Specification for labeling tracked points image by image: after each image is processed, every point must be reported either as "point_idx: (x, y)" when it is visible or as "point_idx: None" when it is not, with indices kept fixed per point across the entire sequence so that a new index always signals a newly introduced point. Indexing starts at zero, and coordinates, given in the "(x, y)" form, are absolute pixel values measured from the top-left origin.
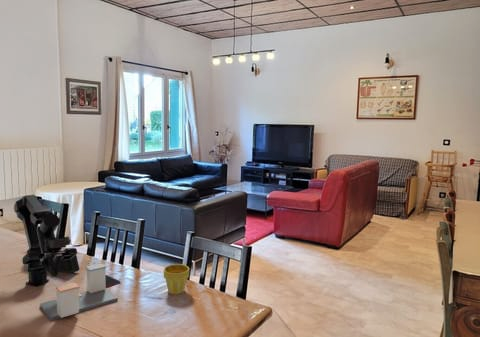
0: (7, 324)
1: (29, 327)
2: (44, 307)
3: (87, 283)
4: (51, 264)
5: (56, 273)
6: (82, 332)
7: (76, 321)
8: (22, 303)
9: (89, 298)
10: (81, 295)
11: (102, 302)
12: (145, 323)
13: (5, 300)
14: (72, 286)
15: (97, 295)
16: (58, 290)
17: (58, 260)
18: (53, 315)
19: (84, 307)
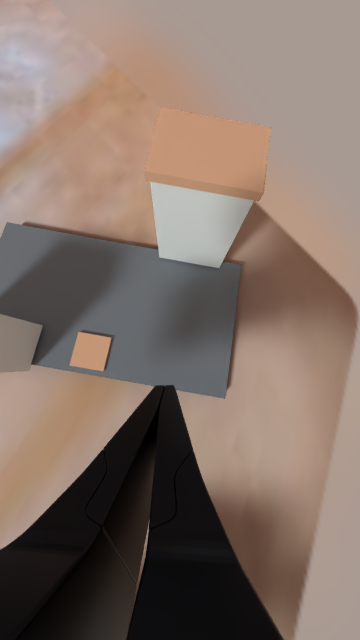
0: (344, 349)
1: (299, 280)
2: (227, 350)
3: (4, 361)
4: (191, 498)
5: (157, 397)
6: None
7: None
8: (258, 484)
9: (74, 293)
10: (79, 334)
11: (66, 233)
12: (72, 78)
13: (301, 582)
14: (188, 133)
15: (37, 293)
16: (266, 155)
17: (37, 555)
18: (230, 270)
19: (131, 245)
